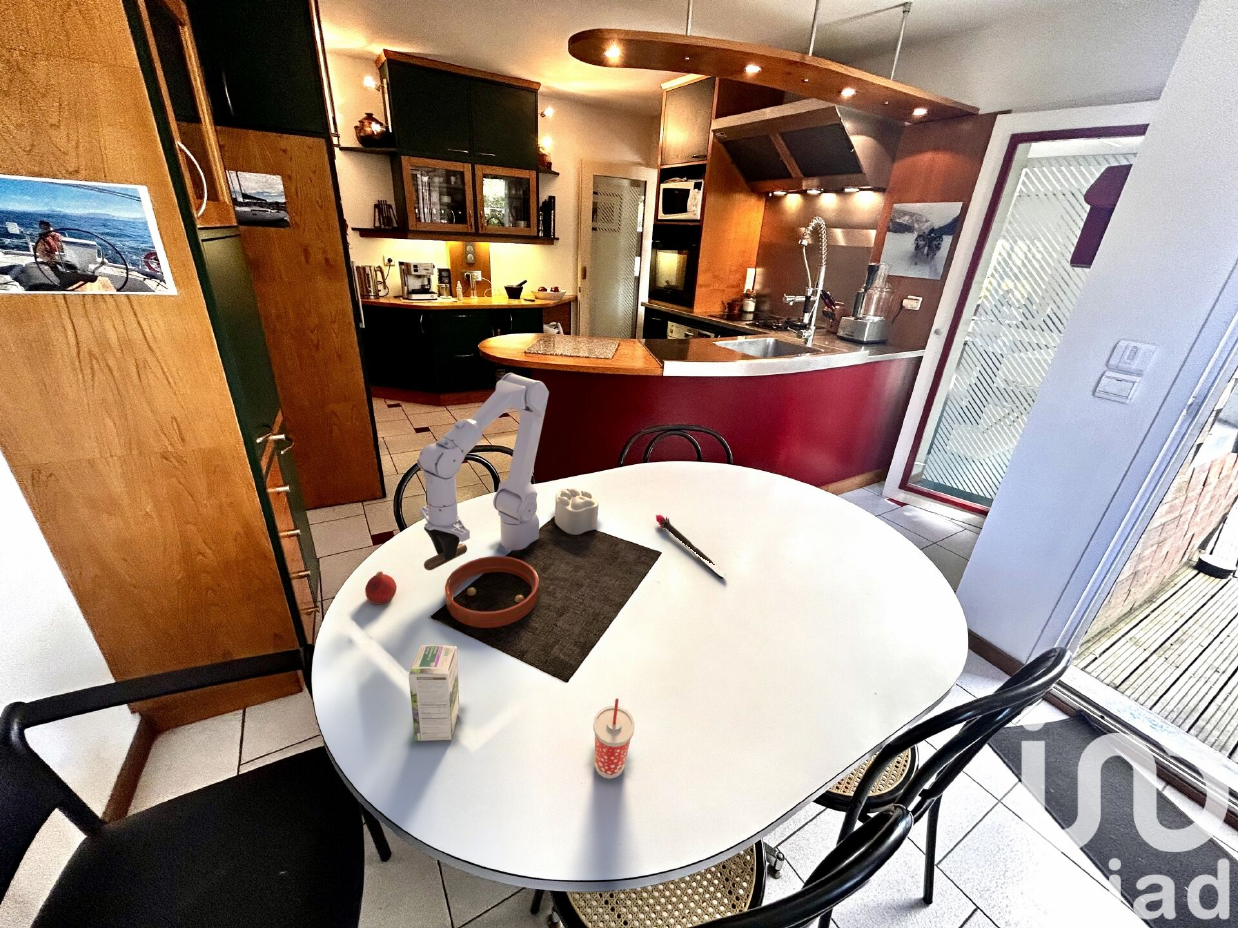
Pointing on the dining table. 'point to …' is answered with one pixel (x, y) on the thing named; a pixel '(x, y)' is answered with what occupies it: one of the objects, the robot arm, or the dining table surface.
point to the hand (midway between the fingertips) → (446, 555)
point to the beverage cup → (612, 739)
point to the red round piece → (380, 588)
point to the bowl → (488, 566)
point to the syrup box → (434, 692)
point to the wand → (680, 536)
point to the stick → (443, 558)
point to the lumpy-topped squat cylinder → (576, 511)
